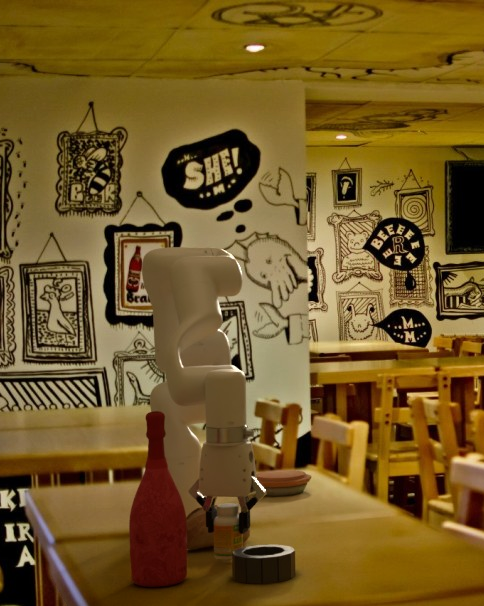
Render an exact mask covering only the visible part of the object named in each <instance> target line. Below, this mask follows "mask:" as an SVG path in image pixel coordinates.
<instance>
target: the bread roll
mask: <svg viewBox="0 0 484 606" xmlns="http://www.w3.org/2000/svg"><path fill="white" fill-rule="evenodd" d="M217 505H218V504H215V505H214V506H215V508H216V510H217ZM239 513H240V511H239V512H238V513H237V515H239ZM217 516H218V514H217ZM186 522H187V550H197V549H203V548H211V547H214V531H213V532H212V533H208V527H206V511H204V510H203V507H200V508H197V509H195V510H193V511H192V512H191V513H190V514H189V515H188V516H187V517H186ZM250 536H251V527H250V528H248V531H247V532H245V533H244V534H243V544H244V543H246V542H247V541H248V539H249V538H250Z"/></svg>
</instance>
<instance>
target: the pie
mask: <svg viewBox="0 0 484 606" xmlns="http://www.w3.org/2000/svg"><path fill="white" fill-rule="evenodd" d="M256 476H257V480H258V482H259V483H260V484H261V485H262V486H263V488H264V489H265V490H266V491H267V494H266V495H265V496H266V497H267V496H269V497H283V496H285V497H286V496H293V495H298V494H301V493H303V492H304V491H305V489H306V487H307V485H308V483H309V482H310V481H311V479H312V475H310V474H308V473H306V471H302V470H298V469H297V470H295V469H278V470H277V469H275V470H267V471H261V472H256Z"/></svg>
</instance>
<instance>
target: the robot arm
mask: <svg viewBox="0 0 484 606" xmlns="http://www.w3.org/2000/svg"><path fill="white" fill-rule="evenodd" d="M141 274H142V275H141V276H142V281H143V285H144V288H145V291H146V294H147V297H148V299H149V302H150V305H151V310H152V315H153V316H152V317H153V319H152V320H153V322H152V323H153V342H154V358H155V363H156V366H157V369H158V370H159V371H160V372H162V373H164V374H165V378H166V381H162V382H160V383H158V384H156V385H155V386H154V387H152V389H151V392H150V395H149V407H150V412H153V411H160V412H163V413H164V415H165V422H164V429H165V432H166V435H165V437H164V452H165V458H166V460H167V464H168V470H169V472H170V474H171V476H172V479H173V481H174V483H175V485H176V487H177V489H178V491H179V494H180V496H181V499H182V502H183V505H184V508H185V513H186V517H187V516H188V515H189V514H190V513H191V512H192V511H193V510H195V509H197V508H200V507H203V510H204V511H206V527H208V533H212V532H213V531H214V519H215V518H216V517H217V510H216V508H215V506H214V505H216V503H217V500H218V497H219V498H237V501H238V503H239V504H238V505H239V507H240V511H239V533H240V534H244V533H245V532H247V531H248V528H250V529H251V510H252V509H253V508H254V507H255V506H256V505H257V504H258V502H259V501H260V500H263V498H264V497H265V496H266V494H267V491H266V490H265V489H264V488H263V486H262V485H261V484H260V483H259V482H258V480H257V476H256V474H257V467H256V459H255V453H254V447H253V443H252V441H248V439H249V438H253V437H254V436H255V431H254V429H251V428H249V425H247V424H248V423H247V380H246V379H247V378H246V374H245V373H244V371H242V370H240V369H239V368H238V367H237V366H235V365H233V364H232V352H231V345H230V340H229V337H228V336H227V334H226V332H224V331H223V330H221V327H222V325H223V321H224V320H223V314H222V310H221V306H220V301H219V298H223V297H235V296H238V295H239V294H240V293H241V290H242V287H243V280H244V279H243V272H242V269H241V265H240V263H239V262H238V260H237V259H236V257H235V256H234V255H232V253H229V252H228V251H226V250H224V249H223V248H220V247H211V246H209V247H208V246H204V247H203V246H201V247H197V246H196V247H195V246H194V247H192V246H191V247H184V246H180V247H179V246H175V247H172V246H171V247H161V248H154V249H152V250H149V251H147V253H145V255H144V256H143V258H142V263H141ZM197 424H198V425H199V424H200V425H201V424H205V441H204V442H203V443H202V446H201V442H200V440H199V438H198V437H197V436H196V434H194V433H193V432H192V430H191V429H190V427H189V426H191V425H197ZM254 492H255V494H254V496H252V497H250V494H252V493H254Z"/></svg>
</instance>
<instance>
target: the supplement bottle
mask: <svg viewBox="0 0 484 606" xmlns="http://www.w3.org/2000/svg"><path fill="white" fill-rule="evenodd" d="M216 505H217V514H218V516H217V517H216V518H215V519H214V546H213V556H214V558H215V559H217V560H221V561H222V560H225V561H227V560H232V552H233V551H235V550H236V549H239V548H243V547H244V543H243V534H240V533H239V515H237V513H238V512H239V513H240V510H239V509H240V508H239V507H240V506H239V504H238V503H231V502H228V503H227V502H226V503H220V504H216Z"/></svg>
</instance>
